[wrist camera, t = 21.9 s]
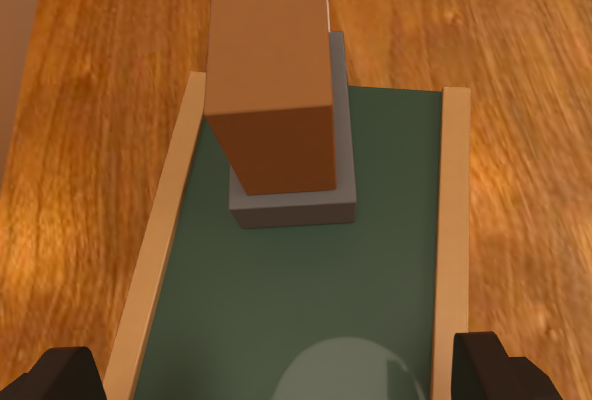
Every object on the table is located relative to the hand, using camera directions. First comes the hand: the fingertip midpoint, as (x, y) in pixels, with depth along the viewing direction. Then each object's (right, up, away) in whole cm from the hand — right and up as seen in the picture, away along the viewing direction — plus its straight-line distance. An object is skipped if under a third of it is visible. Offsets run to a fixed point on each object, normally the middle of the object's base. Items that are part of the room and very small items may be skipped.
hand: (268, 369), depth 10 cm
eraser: (+1, +6, +10) cm, 12 cm away
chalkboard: (+1, 0, +9) cm, 9 cm away
